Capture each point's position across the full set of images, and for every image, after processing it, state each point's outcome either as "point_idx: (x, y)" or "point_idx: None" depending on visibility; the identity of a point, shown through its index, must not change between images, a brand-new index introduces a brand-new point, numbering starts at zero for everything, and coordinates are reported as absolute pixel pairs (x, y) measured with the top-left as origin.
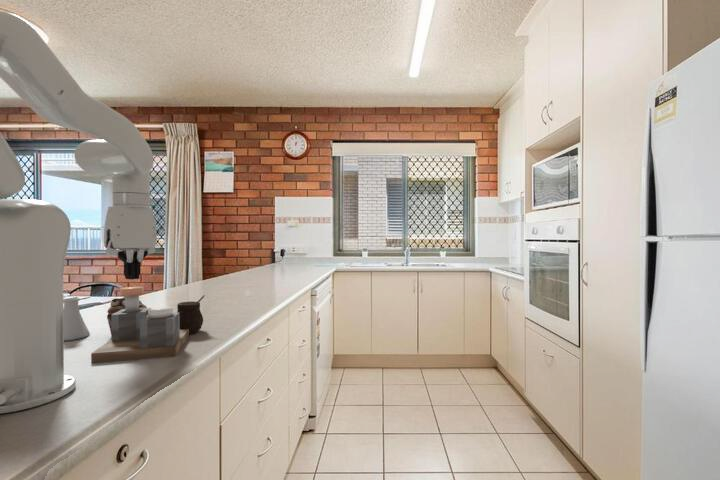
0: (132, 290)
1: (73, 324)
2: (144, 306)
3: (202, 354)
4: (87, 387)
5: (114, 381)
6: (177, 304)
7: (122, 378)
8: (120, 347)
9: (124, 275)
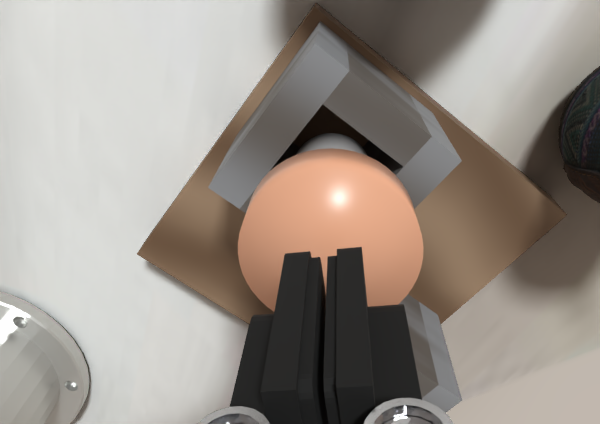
0: None
1: None
2: None
3: None
4: (112, 403)
5: (167, 414)
6: None
7: (186, 411)
8: (231, 263)
9: (256, 316)
